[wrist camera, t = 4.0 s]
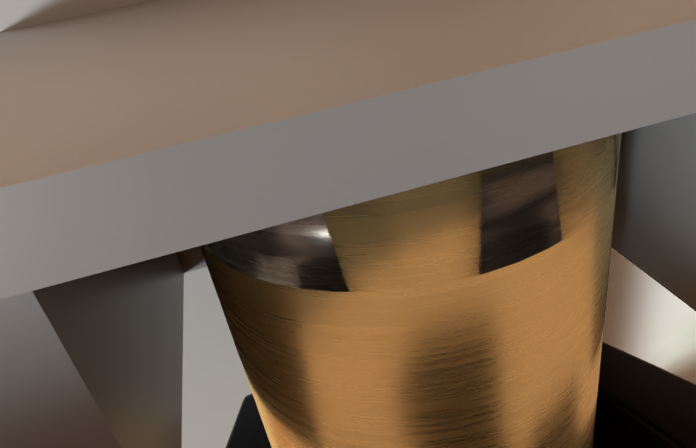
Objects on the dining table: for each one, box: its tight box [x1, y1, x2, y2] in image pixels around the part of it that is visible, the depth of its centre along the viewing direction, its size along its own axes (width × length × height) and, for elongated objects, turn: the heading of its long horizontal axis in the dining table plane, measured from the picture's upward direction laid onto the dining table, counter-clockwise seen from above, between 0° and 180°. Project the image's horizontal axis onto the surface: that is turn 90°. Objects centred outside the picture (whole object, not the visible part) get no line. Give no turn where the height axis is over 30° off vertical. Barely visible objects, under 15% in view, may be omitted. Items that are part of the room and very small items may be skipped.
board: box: [0, 0, 252, 448], centre depth 12 cm, size 19×10×1 cm, turn 10°
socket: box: [0, 0, 696, 448], centre depth 6 cm, size 4×8×6 cm, turn 100°
